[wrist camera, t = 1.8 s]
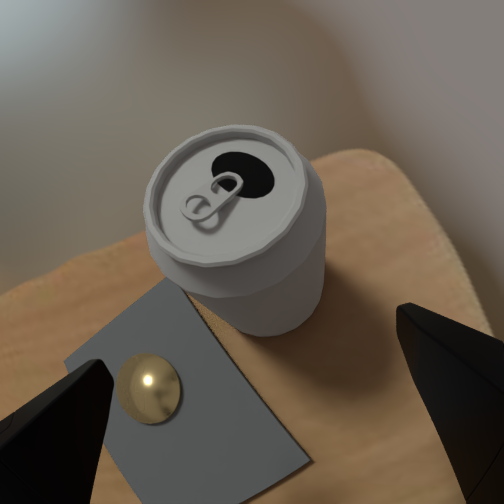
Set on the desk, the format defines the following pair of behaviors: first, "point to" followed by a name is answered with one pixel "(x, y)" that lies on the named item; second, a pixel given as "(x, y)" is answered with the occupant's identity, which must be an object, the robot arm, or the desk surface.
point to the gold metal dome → (148, 388)
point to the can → (240, 227)
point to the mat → (189, 410)
